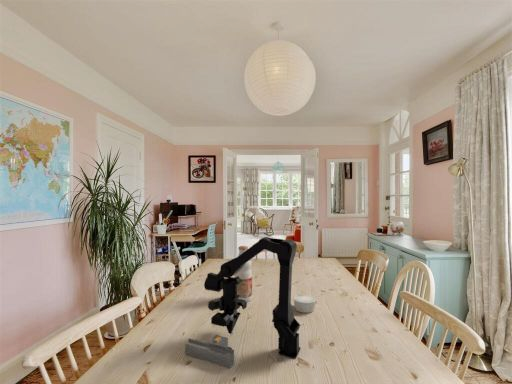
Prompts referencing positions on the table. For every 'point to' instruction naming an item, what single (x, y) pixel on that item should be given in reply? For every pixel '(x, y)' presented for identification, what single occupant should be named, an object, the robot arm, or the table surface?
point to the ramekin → (304, 303)
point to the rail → (210, 352)
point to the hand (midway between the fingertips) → (230, 333)
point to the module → (219, 341)
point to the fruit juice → (245, 279)
